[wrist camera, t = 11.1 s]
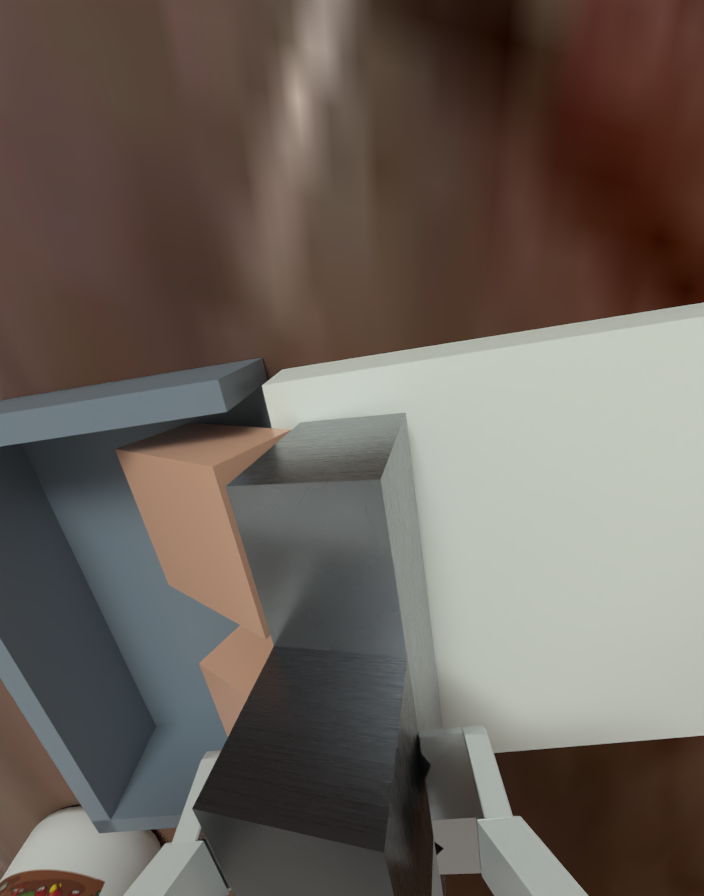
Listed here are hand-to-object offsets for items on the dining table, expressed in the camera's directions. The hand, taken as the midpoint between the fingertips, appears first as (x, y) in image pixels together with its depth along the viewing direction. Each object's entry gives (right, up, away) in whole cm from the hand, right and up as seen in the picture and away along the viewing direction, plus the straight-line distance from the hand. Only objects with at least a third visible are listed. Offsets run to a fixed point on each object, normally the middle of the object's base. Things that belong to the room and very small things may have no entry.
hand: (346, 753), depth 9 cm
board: (+7, +4, +6) cm, 10 cm away
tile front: (-3, +6, +4) cm, 7 cm away
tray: (-7, +2, +7) cm, 10 cm away
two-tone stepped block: (+1, +1, +4) cm, 4 cm away
